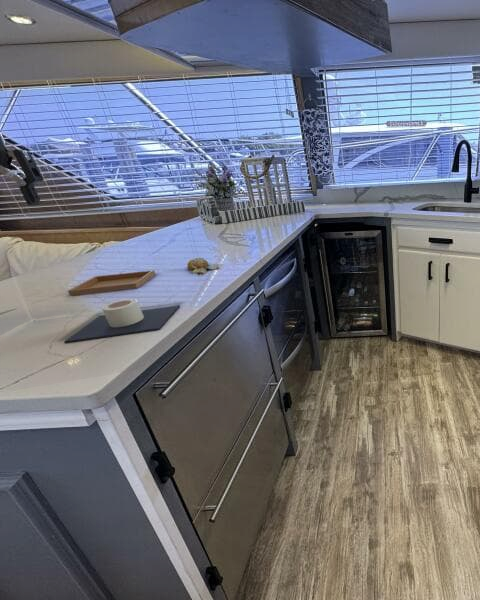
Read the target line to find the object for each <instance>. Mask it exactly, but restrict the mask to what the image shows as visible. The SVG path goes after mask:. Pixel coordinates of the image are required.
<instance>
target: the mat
mask: <svg viewBox="0 0 480 600" xmlns="http://www.w3.org/2000/svg"><path fill="white" fill-rule="evenodd" d="M180 307H181V305H179V304H178V305H169V306H163V307H154V308H147V309H141V311H142V313H143V316H144V318H143V319H142V320H141V321H139V322H137V323H134V324H132V325H128V326H124V327H110V325H109V323H108V321H107V319H106V316H105V314H100V315H98V316H97V317H95V318H94V319H93V320H91V321H90V322H88V323H87V324H86V325H84V326H83V327H82V328H80V329H79V330H77V331H76V332H74V334H72V335H70V336H69V337H68V338H67V339H65V340H64V341H63V342H64V344H69V343H76V342H82V341H83V342H84V341H89V340H97V339H105V338H110V337H111V338H113V337H118V336H125V335H133V334H139V333H147V332H153V331H159V330H161V329H162V328H163V327H164V325H165V324H166V323H167V322H168V321H169V320H170V319H171V318H172V316H173V315H174V314H175V313H177V311H178V310H179V309H180Z"/></svg>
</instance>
